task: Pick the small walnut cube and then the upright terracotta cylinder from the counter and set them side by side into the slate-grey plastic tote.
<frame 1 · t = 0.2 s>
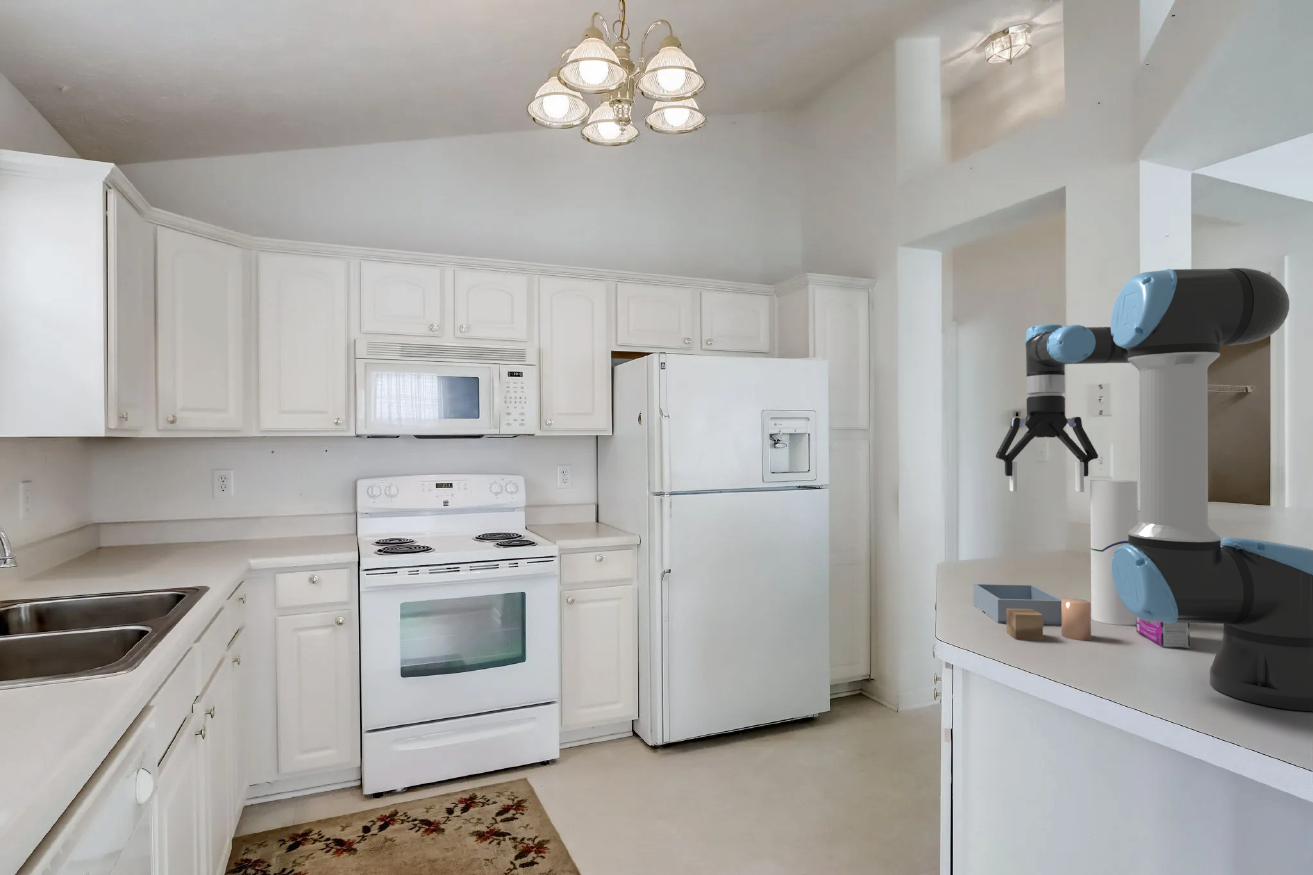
hand: (1046, 491, 160), 27 cm above the counter, fingers open, 13 cm apart
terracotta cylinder: (1076, 636, 142), on the counter
candy bar box: (1161, 641, 139), on the counter
tote: (1016, 614, 161), on the counter
container: (1114, 621, 155), on the counter
walnut cube: (1024, 636, 143), on the counter
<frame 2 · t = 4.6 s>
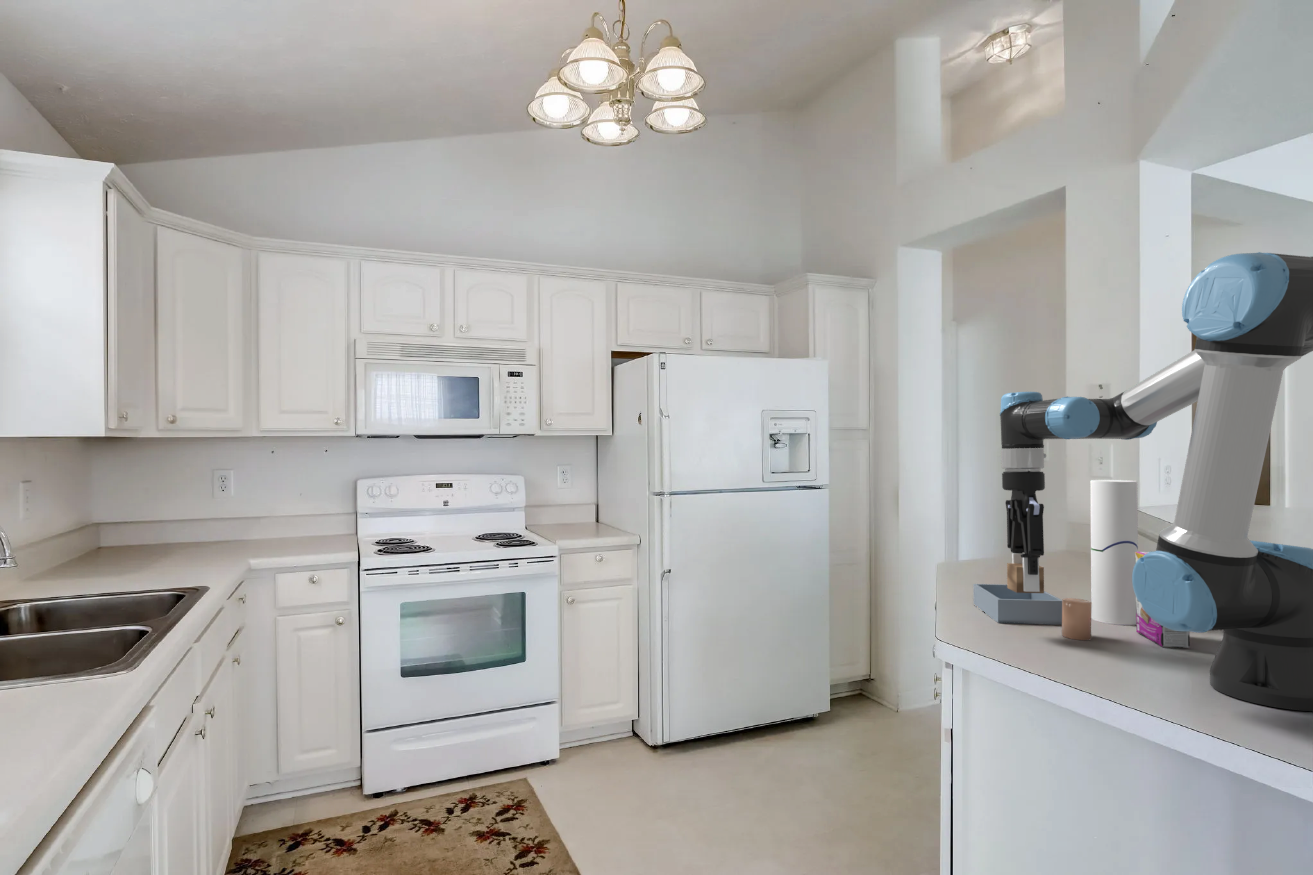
hand: (1025, 588, 142), 10 cm above the counter, fingers closed on walnut cube, 5 cm apart
walnut cube: (1025, 590, 142), point 9 cm above the counter, touching gripper
everything else where it was.
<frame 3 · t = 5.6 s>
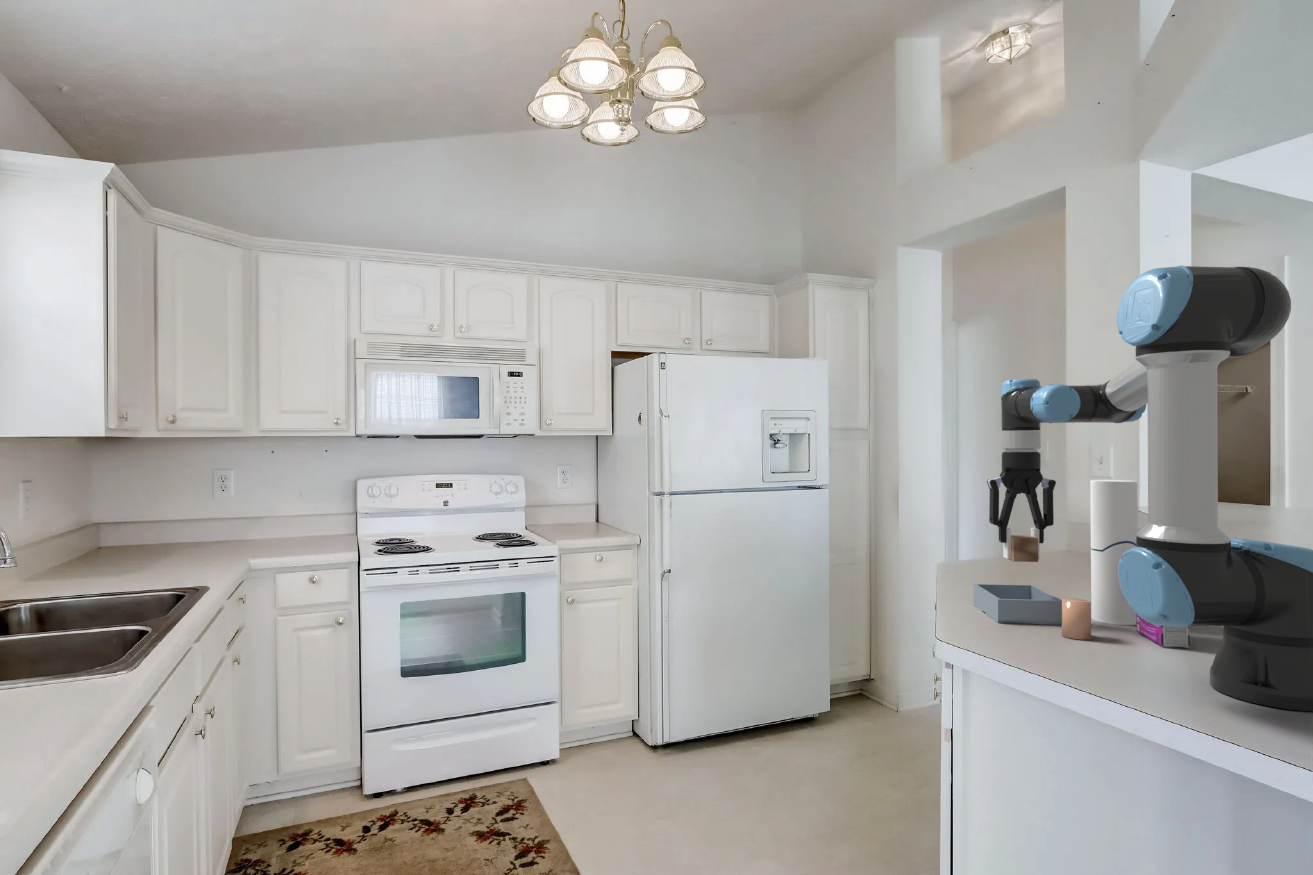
hand: (1021, 557, 156), 13 cm above the counter, fingers closed on walnut cube, 5 cm apart
walnut cube: (1021, 559, 156), point 13 cm above the counter, touching gripper
everything else where it was.
when the fingers open (5 cm above the counter, at t = 6.8 s): walnut cube drops 4 cm, resting on tote.
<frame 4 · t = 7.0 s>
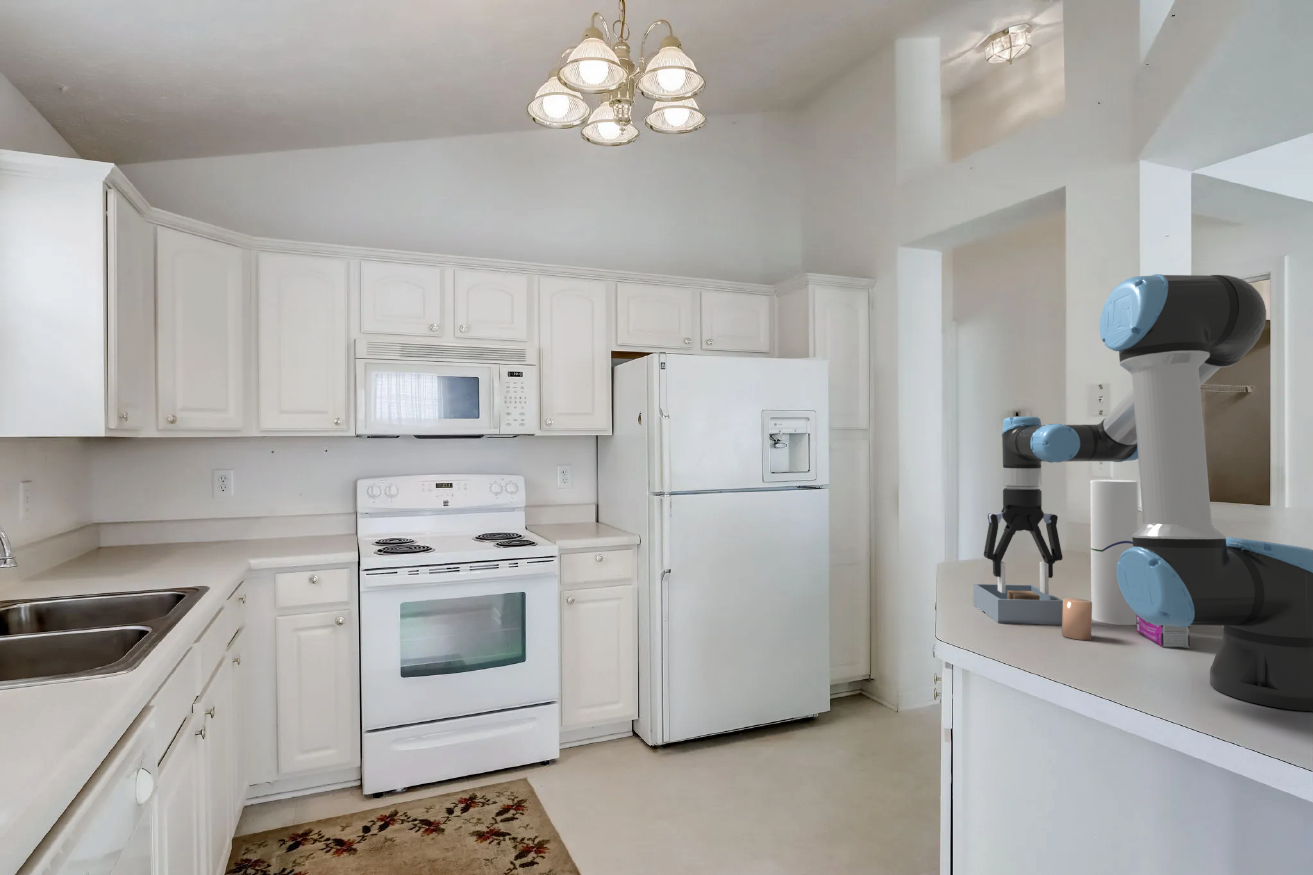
hand: (1022, 592, 157), 6 cm above the counter, fingers open, 8 cm apart
walnut cube: (1023, 616, 157), point 1 cm above the counter, touching tote
everything else where it was.
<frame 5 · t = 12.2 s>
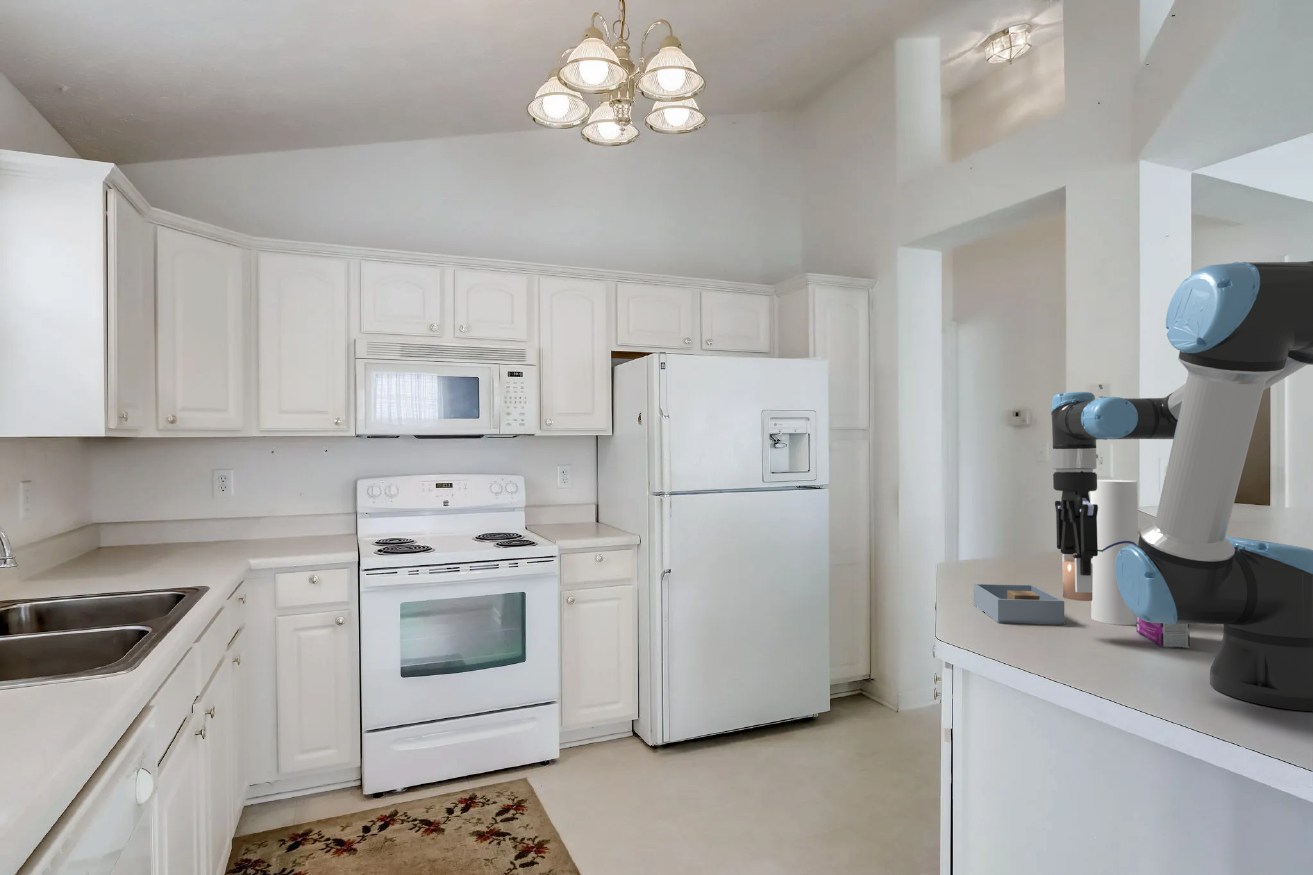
hand: (1077, 589, 142), 9 cm above the counter, fingers closed on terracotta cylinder, 5 cm apart
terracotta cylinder: (1077, 598, 142), point 8 cm above the counter, touching gripper
everything else where it was.
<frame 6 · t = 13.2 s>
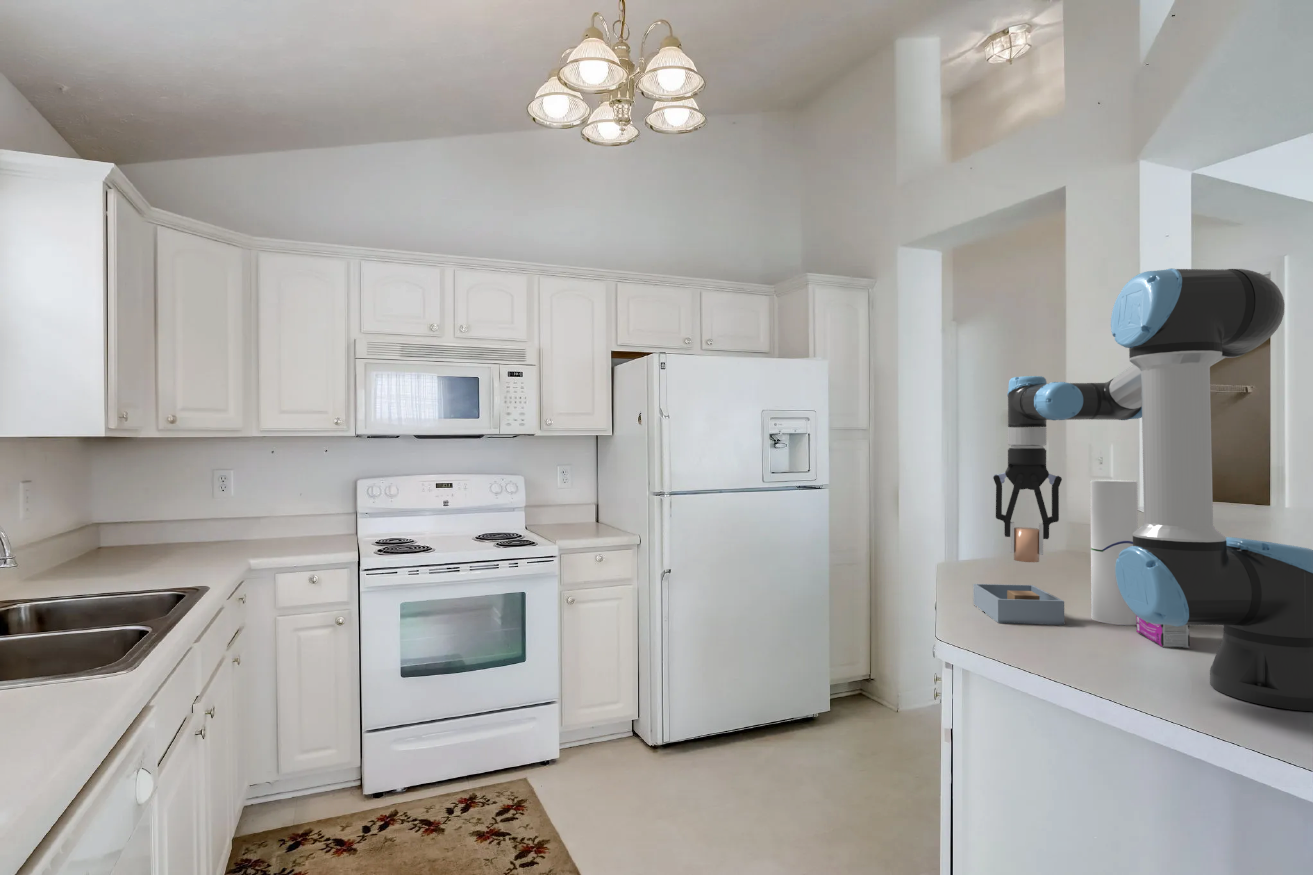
hand: (1026, 552, 159), 14 cm above the counter, fingers closed on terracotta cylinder, 5 cm apart
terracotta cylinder: (1026, 560, 159), point 12 cm above the counter, touching gripper
everything else where it was.
when the fingers open (5 cm above the counter, at t = 14.7 s): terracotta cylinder drops 3 cm, resting on tote.
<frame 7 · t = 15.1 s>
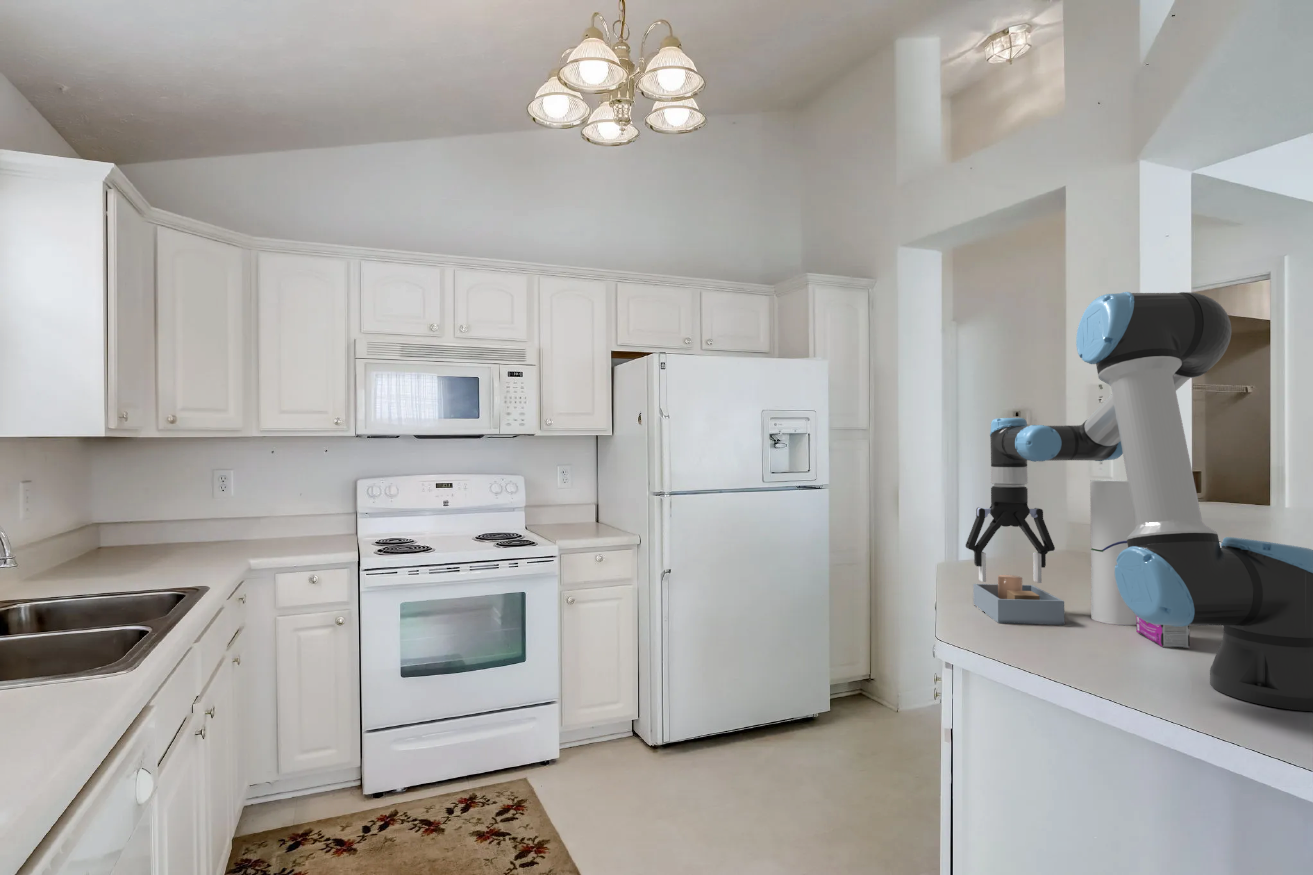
hand: (1009, 581, 165), 7 cm above the counter, fingers open, 11 cm apart
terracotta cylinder: (1010, 607, 165), point 1 cm above the counter, touching tote
everything else where it was.
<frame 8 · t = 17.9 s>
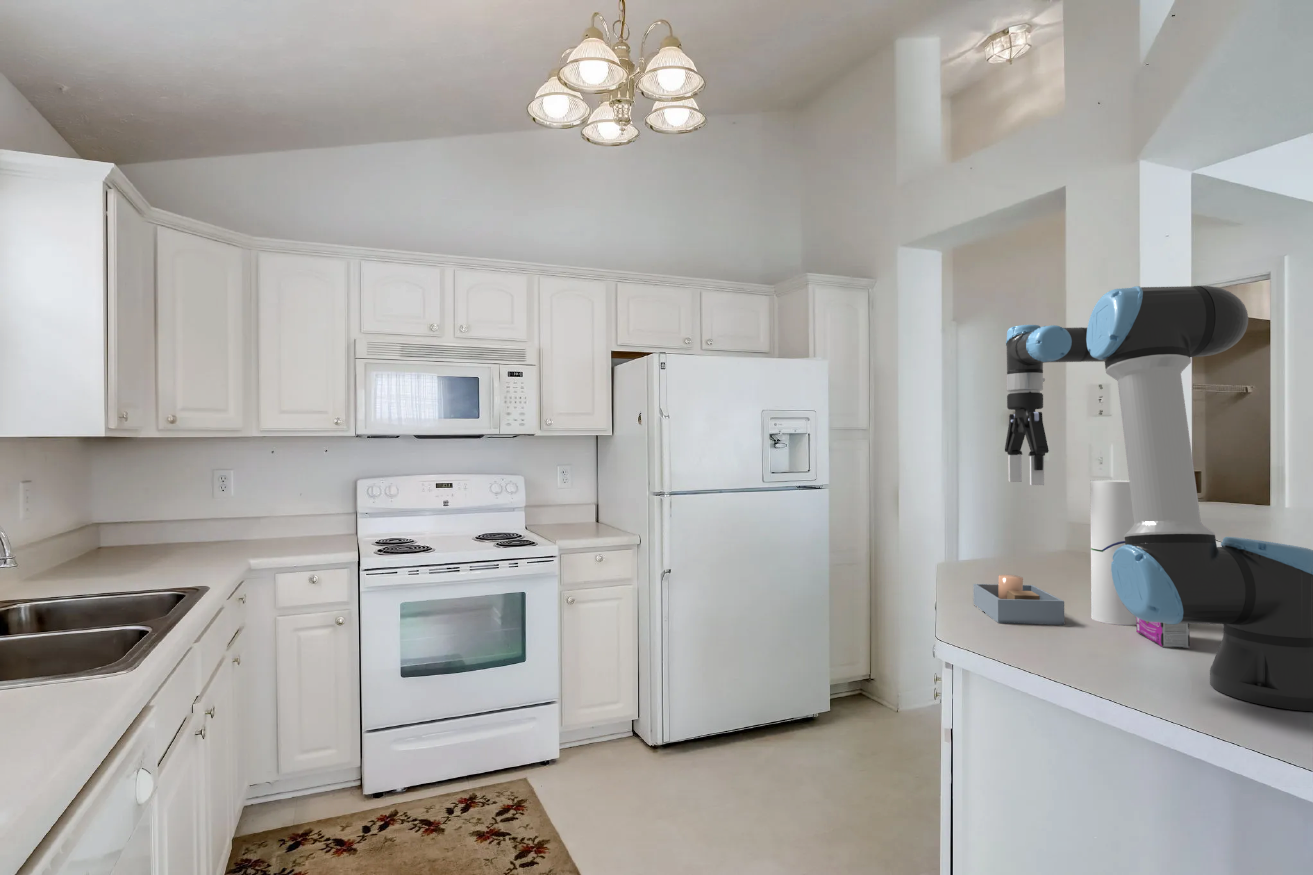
hand: (1025, 483, 168), 29 cm above the counter, fingers open, 13 cm apart
nothing on the counter moved.
at the end: walnut cube inside the target area on the tote (4.1 cm from its centre), point 0.6 cm above the tote's base; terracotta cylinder inside the target area on the tote (4.0 cm from its centre), point 0.7 cm above the tote's base; the gripper is holding nothing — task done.
